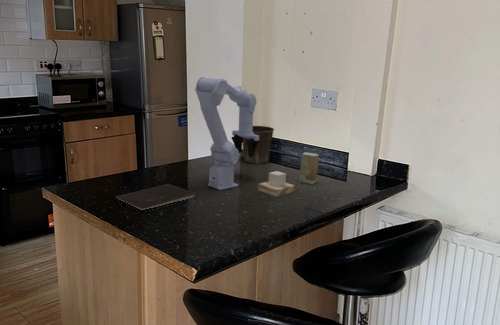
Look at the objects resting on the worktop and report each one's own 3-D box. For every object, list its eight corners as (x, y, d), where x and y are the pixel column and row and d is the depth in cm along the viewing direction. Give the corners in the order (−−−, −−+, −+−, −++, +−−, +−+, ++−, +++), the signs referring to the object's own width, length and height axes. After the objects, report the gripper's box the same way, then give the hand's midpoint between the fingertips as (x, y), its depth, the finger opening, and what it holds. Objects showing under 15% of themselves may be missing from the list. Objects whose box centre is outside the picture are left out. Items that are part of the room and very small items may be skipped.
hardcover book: (195, 199, 162) (195, 193, 162) (141, 214, 146) (141, 207, 145) (168, 188, 172) (168, 183, 172) (115, 202, 156) (114, 196, 155)
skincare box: (298, 182, 185) (300, 153, 182) (302, 179, 189) (304, 151, 186) (313, 184, 183) (315, 155, 180) (317, 182, 186) (319, 153, 183)
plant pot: (244, 165, 208) (245, 131, 204) (235, 157, 224) (236, 125, 220) (277, 164, 213) (278, 131, 209) (266, 156, 228) (268, 125, 224)
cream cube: (277, 187, 169) (277, 175, 168) (268, 184, 173) (268, 172, 172) (285, 185, 173) (285, 173, 171) (276, 182, 176) (277, 171, 175)
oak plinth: (276, 197, 167) (276, 190, 166) (258, 191, 174) (258, 183, 173) (294, 192, 173) (294, 185, 172) (276, 186, 180) (276, 179, 180)
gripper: (265, 124, 181) (263, 156, 185) (241, 119, 191) (240, 150, 195) (252, 125, 177) (251, 159, 180) (228, 120, 187) (228, 152, 190)
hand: (244, 154), depth 187 cm, fingers open, 7 cm apart
